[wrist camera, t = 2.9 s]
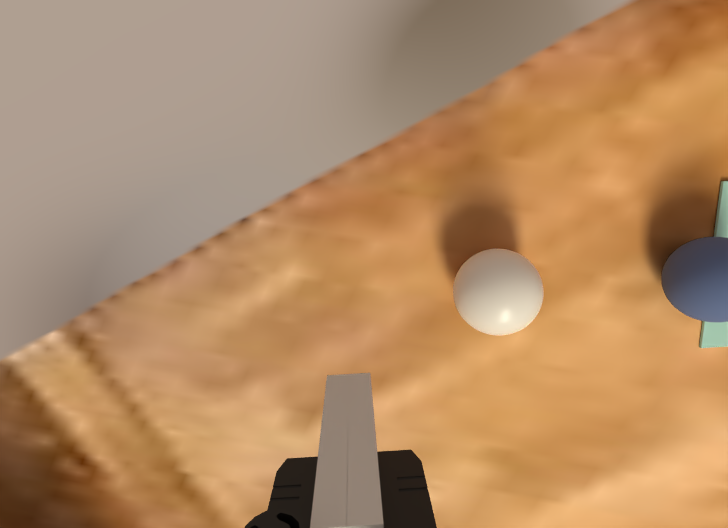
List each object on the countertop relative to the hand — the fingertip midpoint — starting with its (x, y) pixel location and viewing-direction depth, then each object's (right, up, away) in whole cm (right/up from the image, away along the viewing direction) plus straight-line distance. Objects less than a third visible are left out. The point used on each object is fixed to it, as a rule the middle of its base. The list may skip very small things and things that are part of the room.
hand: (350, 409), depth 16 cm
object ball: (+23, +4, +13) cm, 27 cm away
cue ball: (+9, +3, +13) cm, 16 cm away
